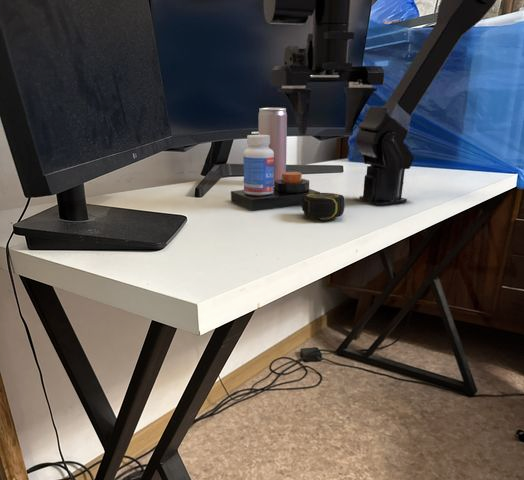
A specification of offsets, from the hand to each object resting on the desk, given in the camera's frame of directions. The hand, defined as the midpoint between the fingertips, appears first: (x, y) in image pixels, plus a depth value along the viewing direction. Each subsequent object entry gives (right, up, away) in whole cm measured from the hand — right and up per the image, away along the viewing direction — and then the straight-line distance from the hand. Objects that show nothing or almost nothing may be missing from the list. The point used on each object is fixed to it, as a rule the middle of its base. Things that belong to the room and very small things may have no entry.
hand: (325, 134), depth 87 cm
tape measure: (-1, -15, -2) cm, 15 cm away
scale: (-8, -9, +9) cm, 15 cm away
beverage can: (-9, 0, +27) cm, 28 cm away
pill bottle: (-11, -8, +7) cm, 16 cm away
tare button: (-5, -6, +9) cm, 12 cm away
